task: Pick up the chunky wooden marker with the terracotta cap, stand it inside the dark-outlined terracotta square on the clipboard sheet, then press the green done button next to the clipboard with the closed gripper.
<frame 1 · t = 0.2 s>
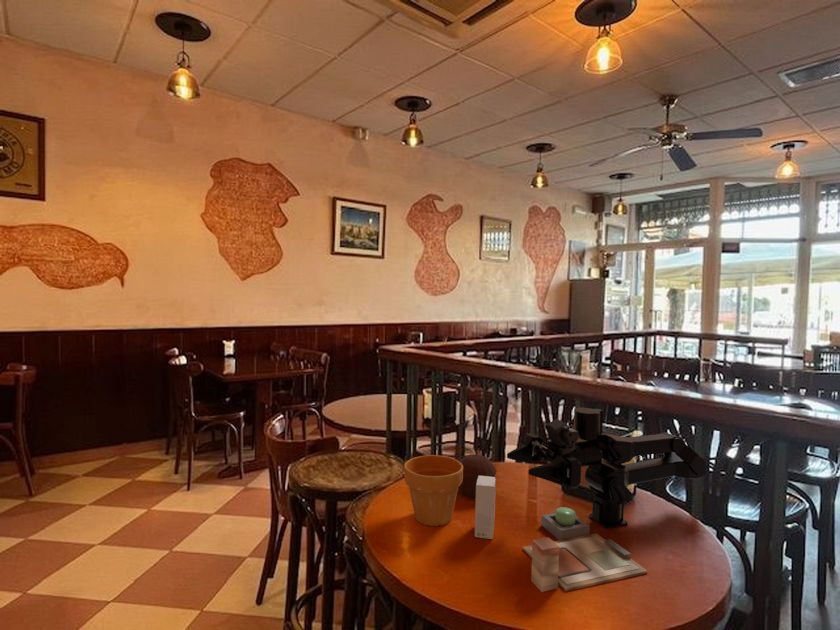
hand: (517, 463, 106), 17 cm above the table, tool horizontal, fingers open, 9 cm apart
flower pot: (432, 518, 115), on the table
button collar: (565, 530, 110), on the table
muffin: (475, 493, 130), on the table
done button: (565, 517, 110), point 3 cm above the table, slide at 0.0 cm
skincare box: (484, 532, 109), on the table
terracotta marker: (544, 584, 90), on the table
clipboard: (582, 560, 98), on the table
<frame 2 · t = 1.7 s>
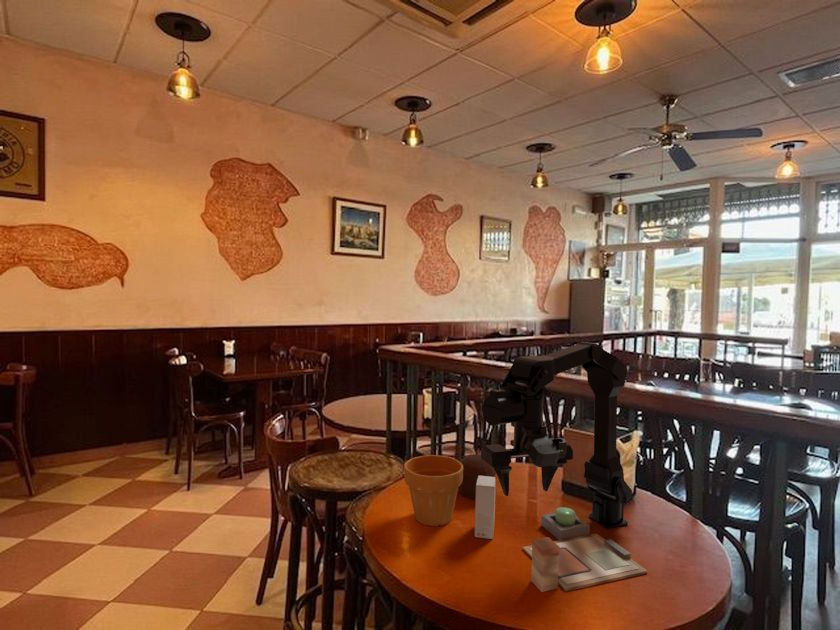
hand: (526, 493, 99), 13 cm above the table, tool pointing down, fingers open, 9 cm apart
nothing on the table moved.
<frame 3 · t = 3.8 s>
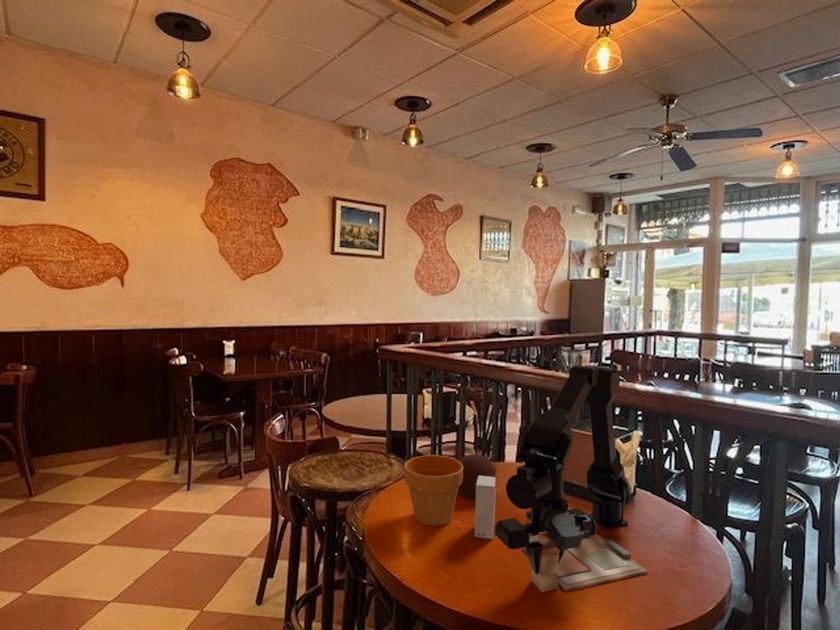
hand: (544, 571, 89), 3 cm above the table, tool pointing down, fingers closed on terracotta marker, 3 cm apart
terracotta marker: (544, 584, 90), on the table, touching gripper
everything else where it was.
when the fingers open (4 cm above the table, at t = 7.4 s): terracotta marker drops 1 cm, resting on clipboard.
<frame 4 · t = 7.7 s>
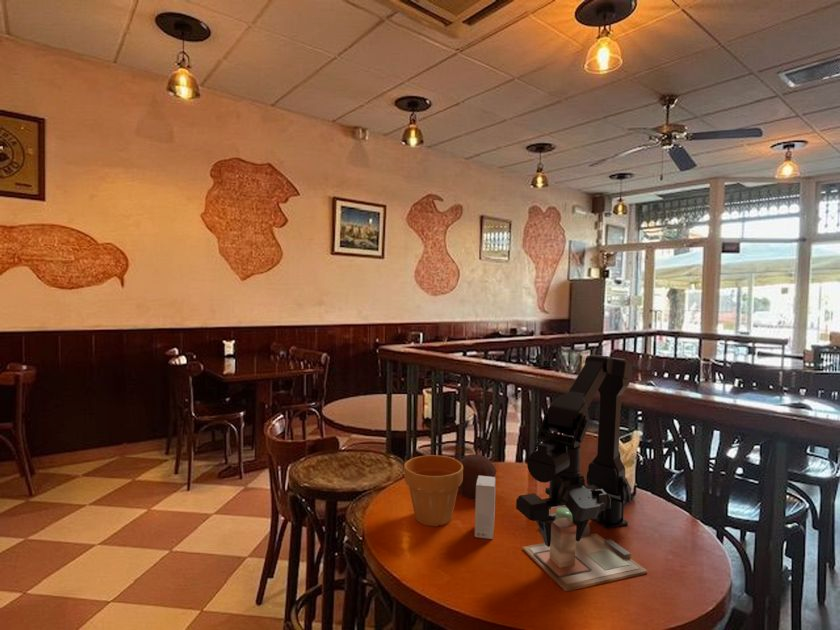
hand: (562, 543, 96), 4 cm above the table, tool pointing down, fingers open, 7 cm apart
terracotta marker: (562, 561, 96), point 1 cm above the table, touching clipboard
everything else where it was.
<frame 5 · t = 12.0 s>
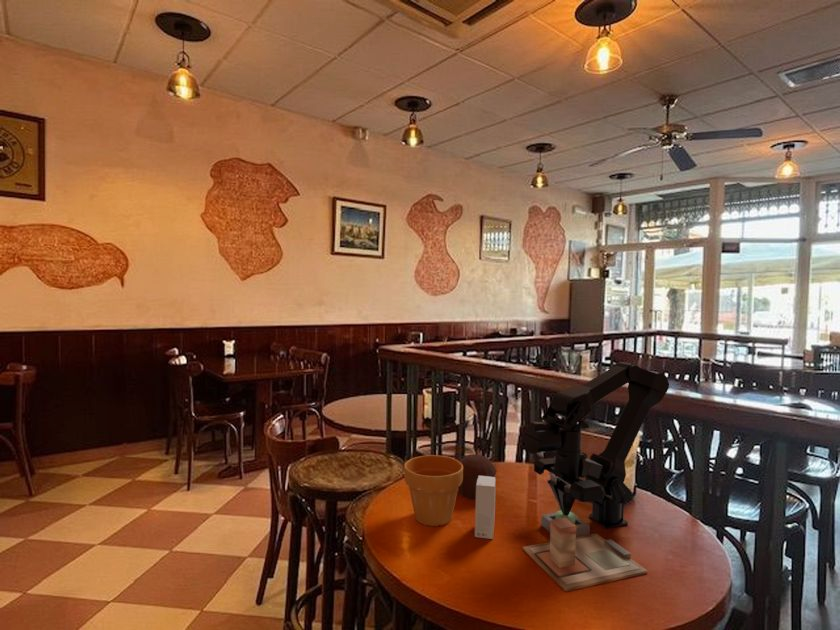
hand: (565, 514, 110), 4 cm above the table, tool pointing down, fingers closed, pressing on done button
done button: (565, 520, 110), point 2 cm above the table, slide at 0.7 cm, touching gripper
everything else where it was.
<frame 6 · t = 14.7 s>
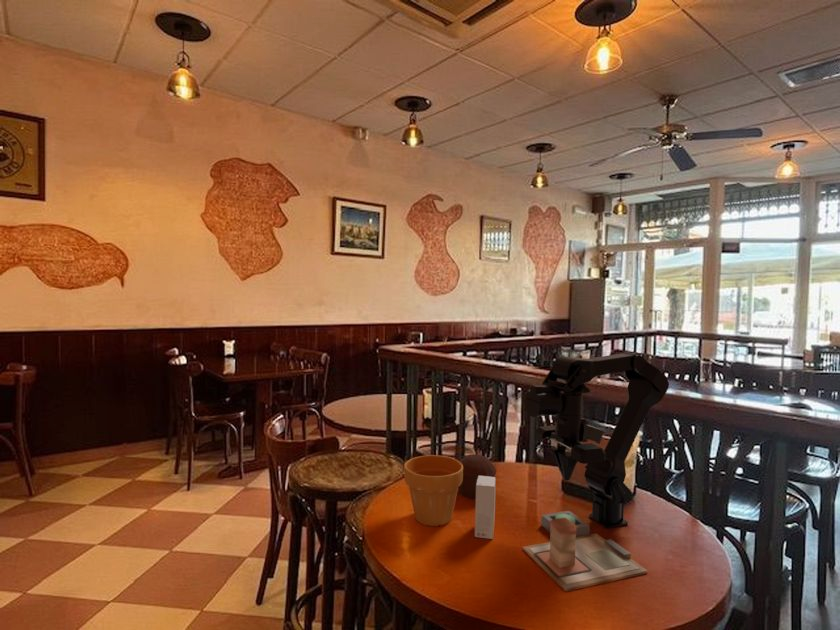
hand: (566, 479, 109), 12 cm above the table, tool pointing down, fingers closed
done button: (565, 524, 110), point 2 cm above the table, slide at 1.6 cm
everything else where it was.
at the end: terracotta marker inside the target area on the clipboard (0.0 cm from its centre), point 0.7 cm above the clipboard's base; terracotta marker tilted 0°; done button slide at 1.6 cm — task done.
